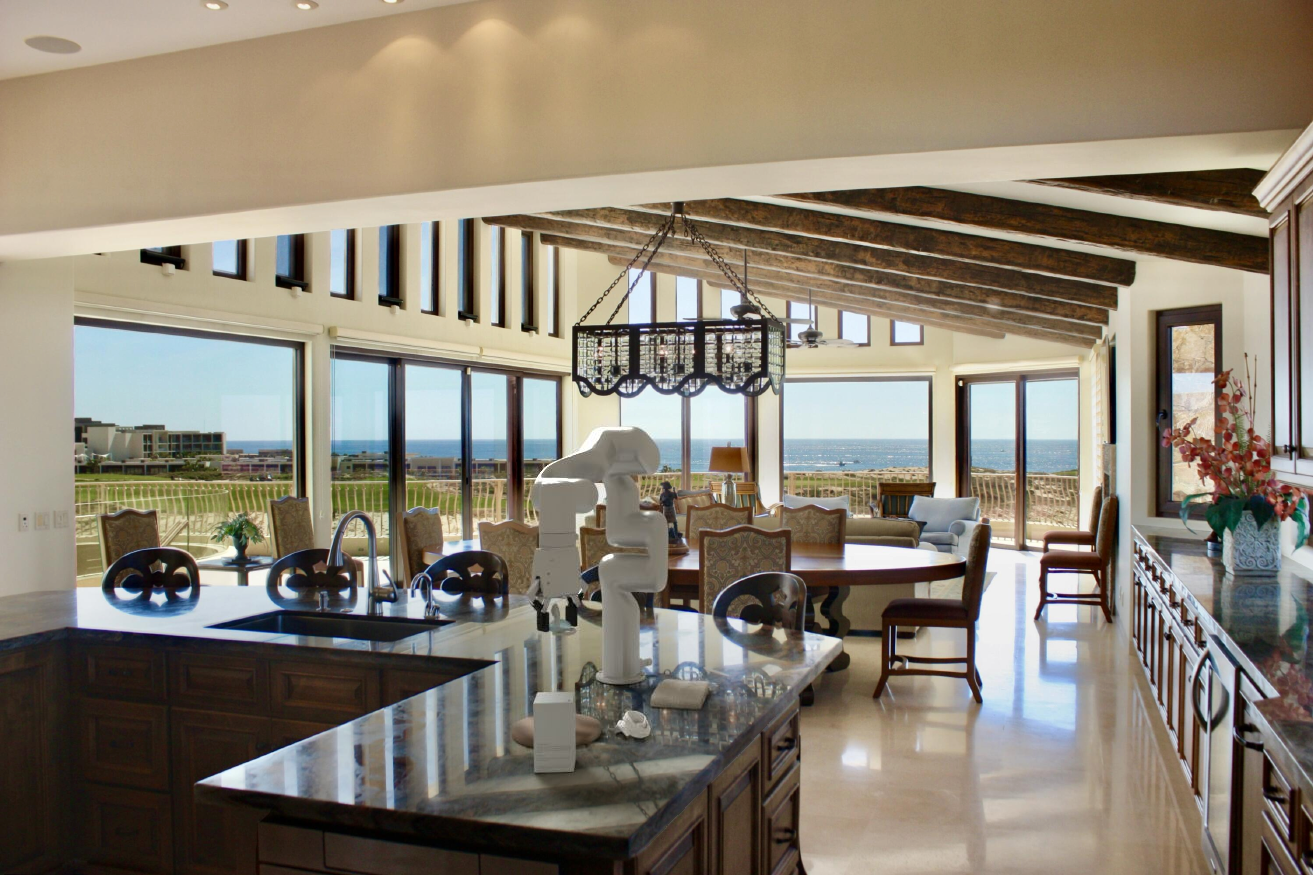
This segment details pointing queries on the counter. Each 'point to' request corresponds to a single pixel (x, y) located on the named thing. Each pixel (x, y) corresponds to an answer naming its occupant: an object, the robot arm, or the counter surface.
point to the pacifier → (559, 623)
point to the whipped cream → (633, 725)
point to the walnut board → (584, 730)
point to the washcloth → (680, 694)
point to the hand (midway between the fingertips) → (557, 627)
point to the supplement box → (554, 732)
